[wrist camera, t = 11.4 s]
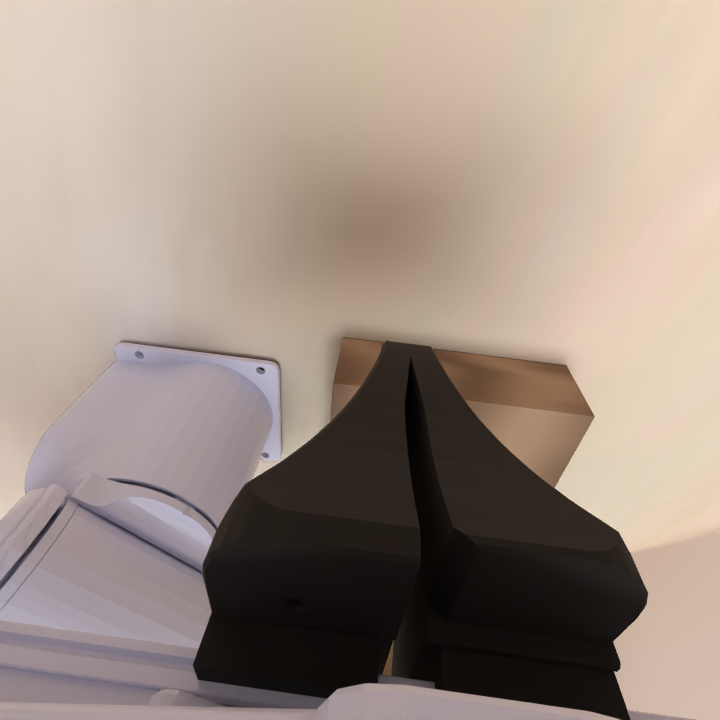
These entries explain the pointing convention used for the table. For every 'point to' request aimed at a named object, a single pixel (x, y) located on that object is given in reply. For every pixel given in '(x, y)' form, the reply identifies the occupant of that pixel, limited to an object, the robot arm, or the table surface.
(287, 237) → the table surface
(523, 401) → the block
